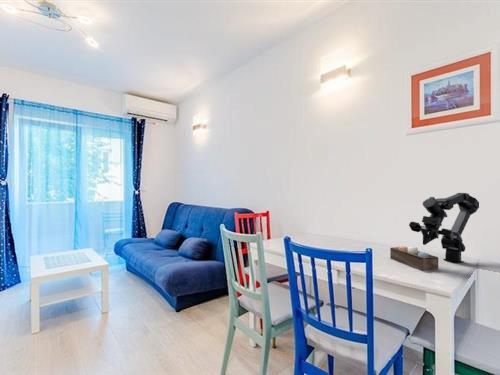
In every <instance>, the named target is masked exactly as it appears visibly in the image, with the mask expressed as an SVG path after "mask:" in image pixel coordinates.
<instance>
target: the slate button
mask: <svg viewBox="0 0 500 375" xmlns="http://www.w3.org/2000/svg"><path fill="white" fill-rule="evenodd" d="M429 255H430V253H427V252H422V251H419V253H418V256H421V257H429Z"/></svg>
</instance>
